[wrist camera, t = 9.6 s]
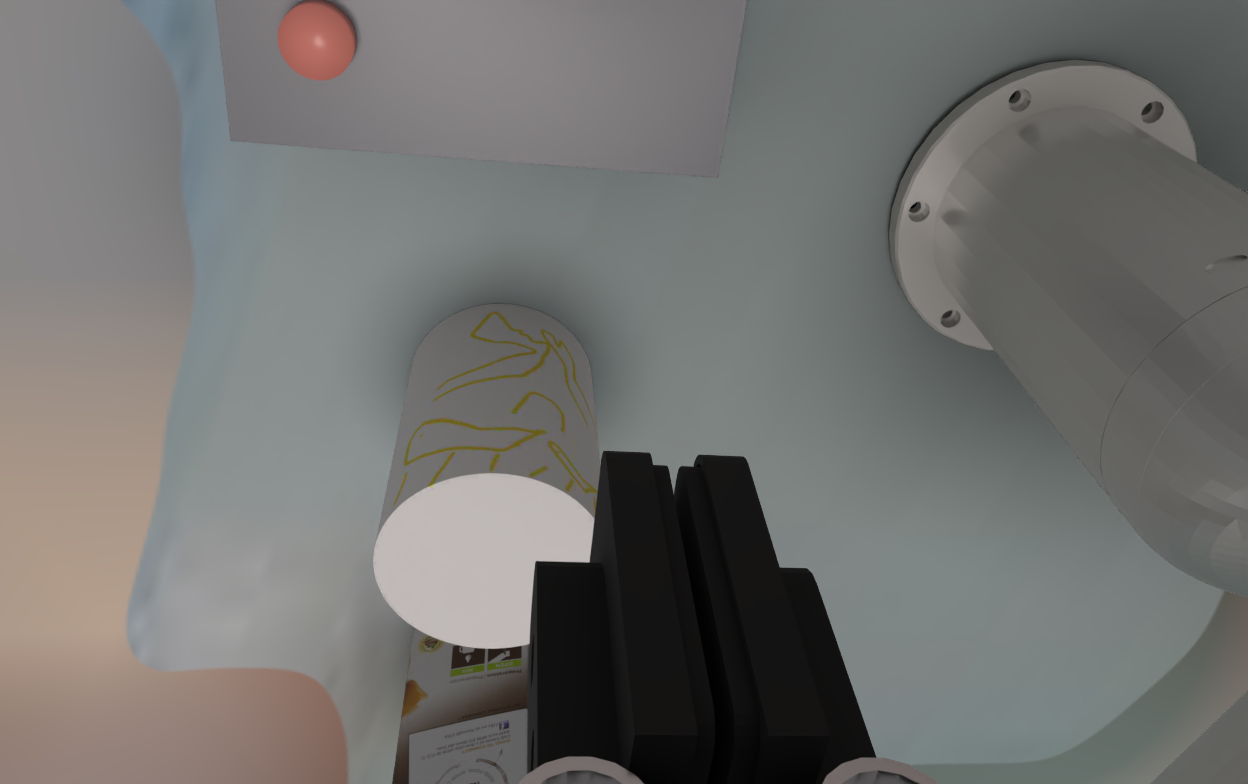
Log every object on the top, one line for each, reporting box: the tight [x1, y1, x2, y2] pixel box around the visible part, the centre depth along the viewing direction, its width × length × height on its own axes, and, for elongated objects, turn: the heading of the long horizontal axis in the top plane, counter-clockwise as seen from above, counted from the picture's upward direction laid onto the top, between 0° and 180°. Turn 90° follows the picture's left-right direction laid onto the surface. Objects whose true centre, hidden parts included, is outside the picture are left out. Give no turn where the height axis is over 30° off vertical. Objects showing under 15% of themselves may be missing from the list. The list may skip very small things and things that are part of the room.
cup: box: [373, 304, 600, 649], centre depth 40 cm, size 8×8×12 cm
